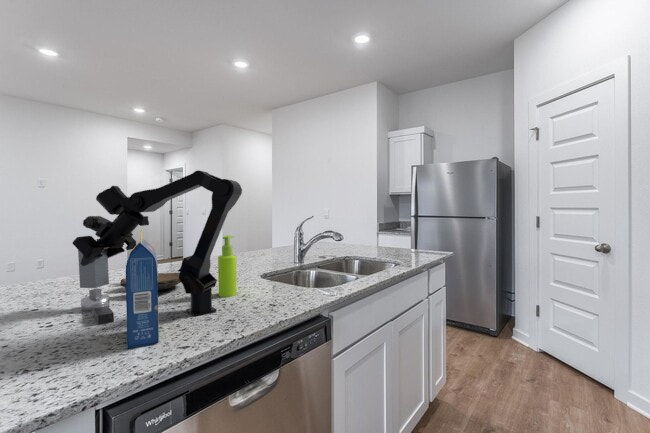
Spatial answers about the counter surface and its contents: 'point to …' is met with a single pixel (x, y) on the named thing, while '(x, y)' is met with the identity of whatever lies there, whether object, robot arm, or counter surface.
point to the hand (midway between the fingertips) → (89, 263)
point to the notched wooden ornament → (162, 280)
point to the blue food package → (142, 296)
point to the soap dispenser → (227, 270)
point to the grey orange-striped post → (94, 271)
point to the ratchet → (98, 306)
